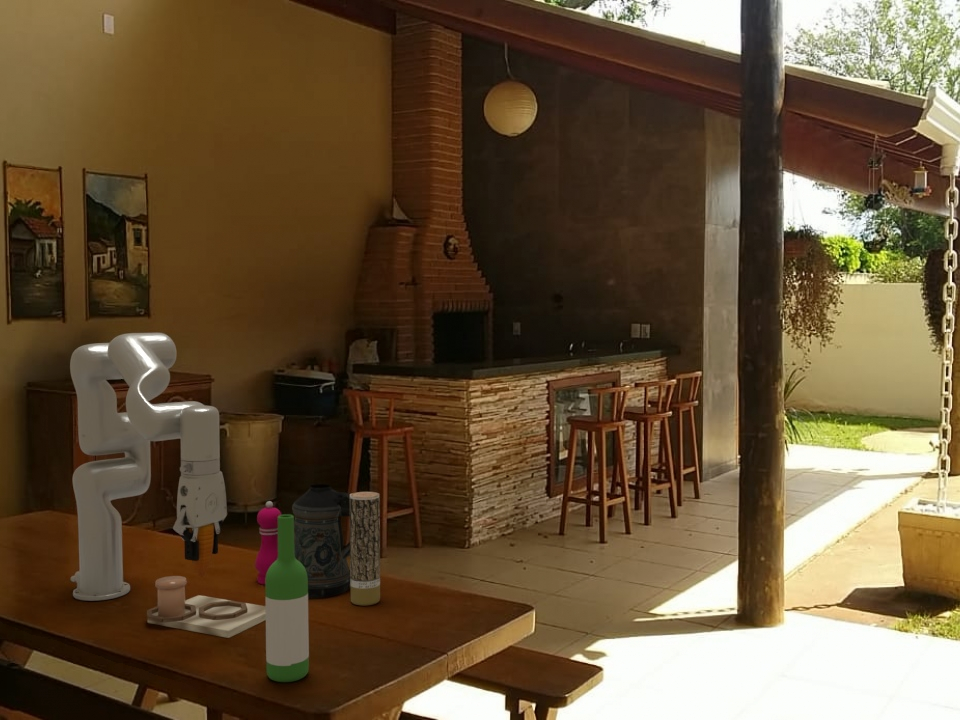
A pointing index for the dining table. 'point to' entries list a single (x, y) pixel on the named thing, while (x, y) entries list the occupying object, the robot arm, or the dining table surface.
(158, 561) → the dining table surface
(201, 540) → the carrot
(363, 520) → the paper tube
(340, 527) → the beer stein
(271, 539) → the pepper mill
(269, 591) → the wine bottle
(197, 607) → the stand
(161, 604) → the pink lidded jar
